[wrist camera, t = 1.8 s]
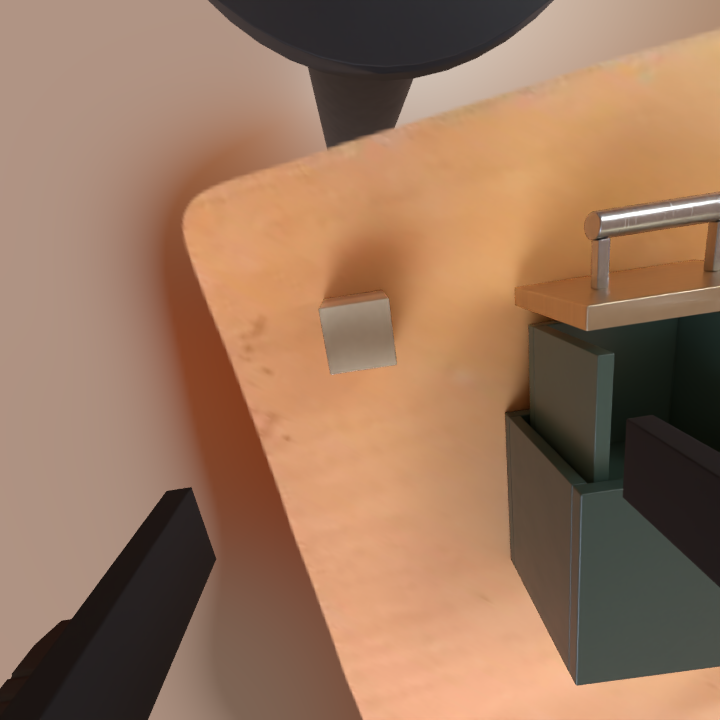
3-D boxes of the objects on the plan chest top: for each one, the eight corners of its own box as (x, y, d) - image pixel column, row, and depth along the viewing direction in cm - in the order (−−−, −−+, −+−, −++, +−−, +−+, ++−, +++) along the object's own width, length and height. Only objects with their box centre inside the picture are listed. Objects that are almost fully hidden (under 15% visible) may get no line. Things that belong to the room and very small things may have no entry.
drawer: (512, 223, 23) (589, 212, 16) (699, 193, 23) (868, 169, 15) (519, 456, 28) (580, 534, 20) (674, 434, 28) (793, 504, 20)
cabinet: (504, 412, 28) (581, 494, 19) (676, 387, 28) (840, 457, 18) (510, 559, 32) (575, 686, 23) (661, 537, 32) (788, 657, 22)
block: (323, 298, 25) (318, 308, 21) (382, 289, 25) (388, 297, 21) (333, 356, 26) (330, 375, 22) (390, 347, 26) (397, 365, 22)
